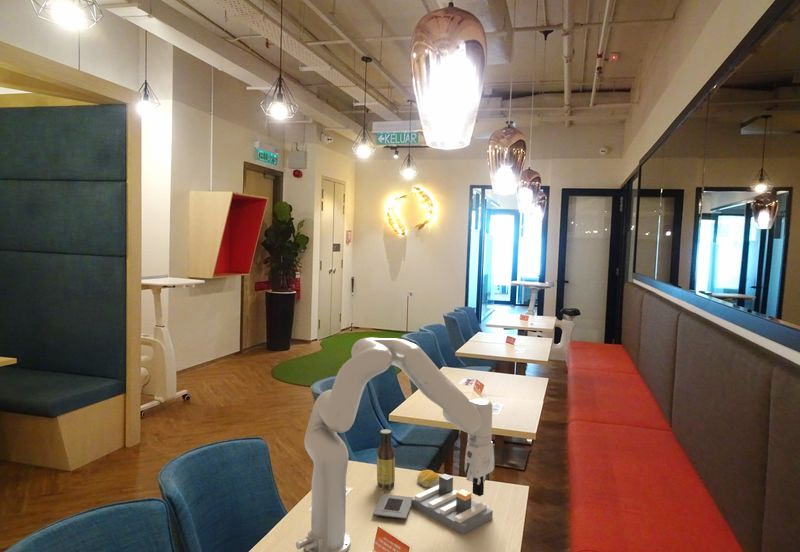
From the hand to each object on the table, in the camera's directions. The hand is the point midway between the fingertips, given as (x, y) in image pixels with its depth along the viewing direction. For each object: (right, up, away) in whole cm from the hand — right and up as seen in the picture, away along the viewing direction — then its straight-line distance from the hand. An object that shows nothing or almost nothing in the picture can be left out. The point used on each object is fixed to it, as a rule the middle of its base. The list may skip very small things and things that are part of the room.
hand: (478, 494), depth 169 cm
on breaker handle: (-10, -2, +6) cm, 12 cm away
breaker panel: (-9, -5, -1) cm, 10 cm away
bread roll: (-14, -4, +20) cm, 25 cm away
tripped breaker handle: (-5, -3, -5) cm, 8 cm away
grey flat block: (-27, -6, 0) cm, 28 cm away
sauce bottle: (-30, -4, +16) cm, 34 cm away
